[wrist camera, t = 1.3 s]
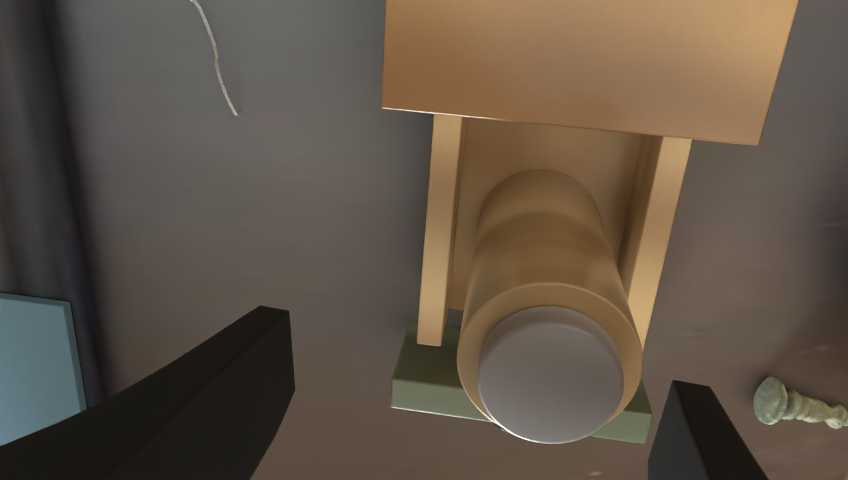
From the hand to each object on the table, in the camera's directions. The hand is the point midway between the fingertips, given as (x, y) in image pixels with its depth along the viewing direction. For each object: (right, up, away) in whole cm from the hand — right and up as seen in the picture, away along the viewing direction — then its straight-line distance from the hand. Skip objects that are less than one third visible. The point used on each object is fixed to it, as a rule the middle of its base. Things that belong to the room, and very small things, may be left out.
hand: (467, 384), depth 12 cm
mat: (-18, -4, +18) cm, 26 cm away
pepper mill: (+3, +3, +9) cm, 10 cm away
